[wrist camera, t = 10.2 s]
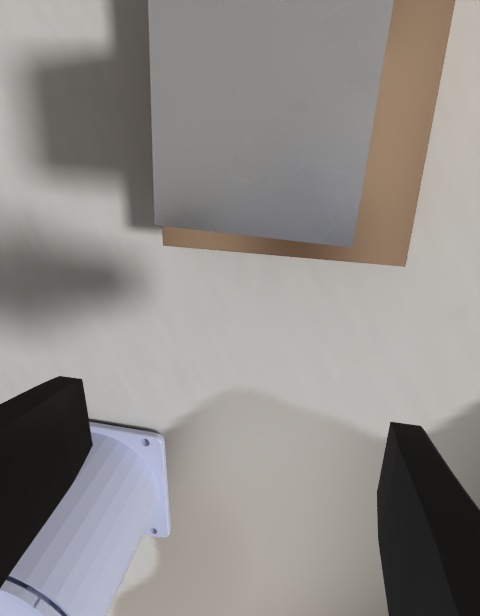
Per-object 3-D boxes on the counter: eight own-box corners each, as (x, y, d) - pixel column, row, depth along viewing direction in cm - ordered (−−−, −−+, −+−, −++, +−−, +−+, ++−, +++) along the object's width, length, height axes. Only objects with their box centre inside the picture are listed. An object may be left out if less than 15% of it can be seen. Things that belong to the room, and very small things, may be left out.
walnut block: (187, 226, 20) (162, 245, 17) (180, -18, 16) (147, -42, 14) (396, 242, 18) (405, 266, 16) (443, -25, 15) (465, -53, 12)
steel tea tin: (217, 185, 16) (152, 227, 11) (222, 31, 14) (144, -13, 9) (352, 198, 15) (354, 249, 10) (377, 36, 13) (398, -8, 8)
